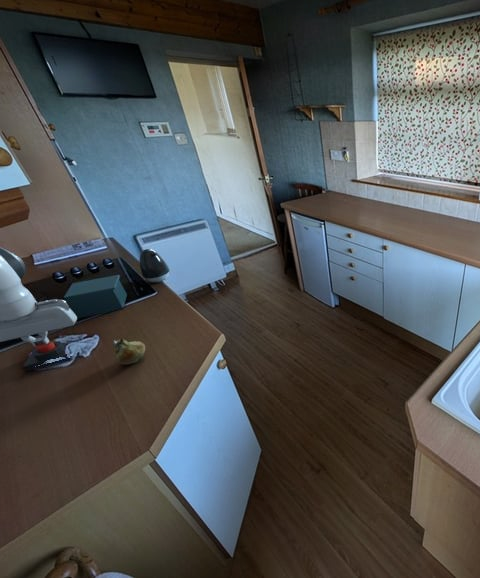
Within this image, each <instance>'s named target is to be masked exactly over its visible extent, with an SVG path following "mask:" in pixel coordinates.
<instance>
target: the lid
mask: <svg viewBox="0 0 480 578" xmlns="http://www.w3.org/2000/svg"><path fill="white" fill-rule="evenodd" d="M120 277H121V275H120V274H116V275H110V276H104V277H100V278H94V279H89V280H83V281H77V282H73V283H71V285H70V287H69V288H68V290H67V291H66V293H65V295H64V296H63V298H64V300H65V299H68V298H73V297H78V296H83V295H88V294H93V293H98V292H103V291H108V290H113V289H116V286H117V283H118V280H119V281H120Z"/></svg>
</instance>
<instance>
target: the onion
mask: <svg viewBox="0 0 480 578" xmlns="http://www.w3.org/2000/svg"><path fill="white" fill-rule="evenodd" d="M112 343H113V347H114V348H117V350H115V354H116V361H117V363H119V364H121V365H127V366H128V365H132V364H134V363H137V362H139V361H140V360H141V359H142V357H143V356H144V355H145V352H146V344H144V343H143V342H142V341H139V340H133V341H127V340H126V339H124V338H120V339H118V340H117V339H114V340H113V341H112Z"/></svg>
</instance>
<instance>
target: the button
mask: <svg viewBox="0 0 480 578" xmlns="http://www.w3.org/2000/svg"><path fill="white" fill-rule="evenodd" d="M55 347H56V346H55V344H54V343H53V341H52V340H49V343H48V344H44V345H40V346H35V349H37V350H38V351H39V352H40V353H44V352H48V351H50V350H52V349H53V348H55Z"/></svg>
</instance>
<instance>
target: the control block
mask: <svg viewBox="0 0 480 578" xmlns="http://www.w3.org/2000/svg"><path fill="white" fill-rule="evenodd" d="M74 340H75V339H73V341H74ZM71 341H72V340H70V341H65V342H66V343H67V342H71ZM52 342H53V343H54V344H55V346H56V347H55V348H53V349H52V350H50V351H48V352H44V353H40V352H39V351H38V350H37V349H36V348H34V349H33V350H32V352H30V355H29V356H28V358H27V359H26V361H25V362H24V364H23V365H22V366H23V367H22V368H23V369H24V370H25V371H26V372H32V371H36V370H39V369H43V368H46V367H50V366H54V365H58V364H61V363H66V362H68V361H72V360H73V358H74V356H75V354H74V355H73V356H70V358H66V359H62V360H59V361H55V362H52V363H47V364H44V365H41V364H43V363H44V362H45V361H47V360H50V359H56V358H59V357H66V356H67V354H65V352H64V349H65V347H66V344H65V343H64V342H62V341H60V340H53V341H52ZM38 365H40V366H38ZM35 366H36V367H35Z"/></svg>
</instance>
